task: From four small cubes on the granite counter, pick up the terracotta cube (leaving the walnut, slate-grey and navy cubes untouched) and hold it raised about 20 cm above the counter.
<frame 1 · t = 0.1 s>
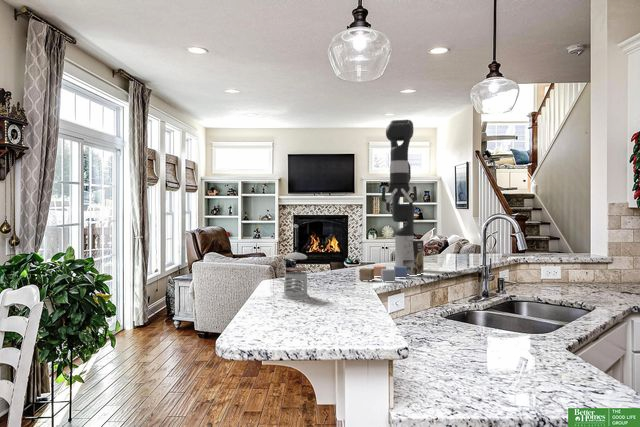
hand: (399, 212, 183), 29 cm above the worktop, tool pointing down, fingers open, 8 cm apart
walnut block: (366, 280, 191), on the worktop
navy block: (400, 278, 199), on the worktop
slate block: (388, 281, 189), on the worktop
terracotta block: (379, 277, 201), on the worktop
coffee box: (413, 275, 206), on the worktop
french press: (293, 297, 155), on the worktop
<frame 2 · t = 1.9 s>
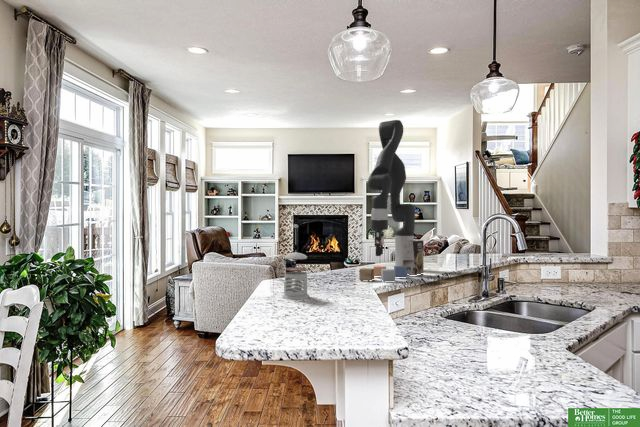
hand: (379, 255, 201), 10 cm above the worktop, tool pointing down, fingers open, 8 cm apart
nothing on the worktop moved.
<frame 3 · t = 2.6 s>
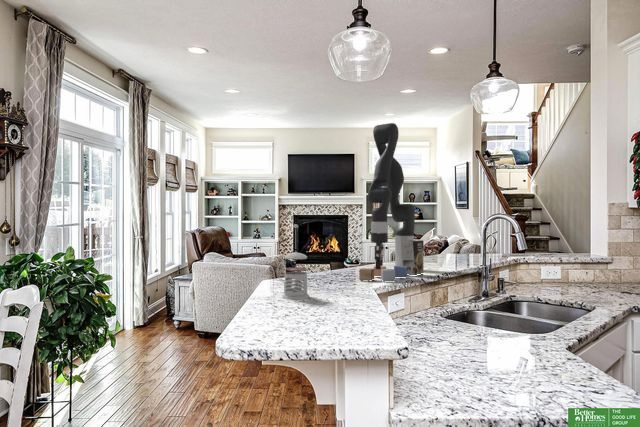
hand: (379, 268, 201), 4 cm above the worktop, tool pointing down, fingers open, 8 cm apart
nothing on the worktop moved.
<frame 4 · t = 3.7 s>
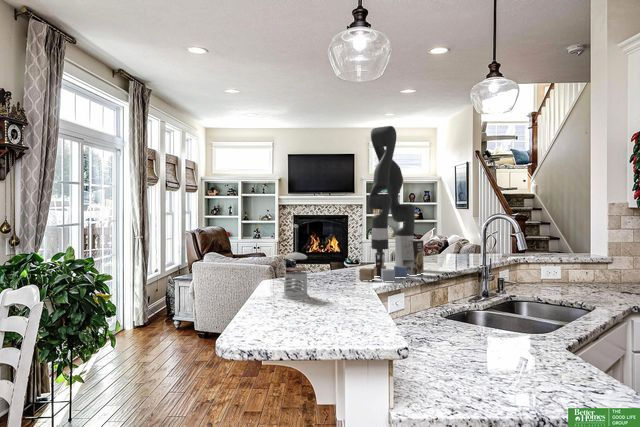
hand: (379, 276, 201), 0 cm above the worktop, tool pointing down, fingers closed on terracotta block, 5 cm apart
terracotta block: (379, 277, 201), on the worktop, touching gripper
everything else where it was.
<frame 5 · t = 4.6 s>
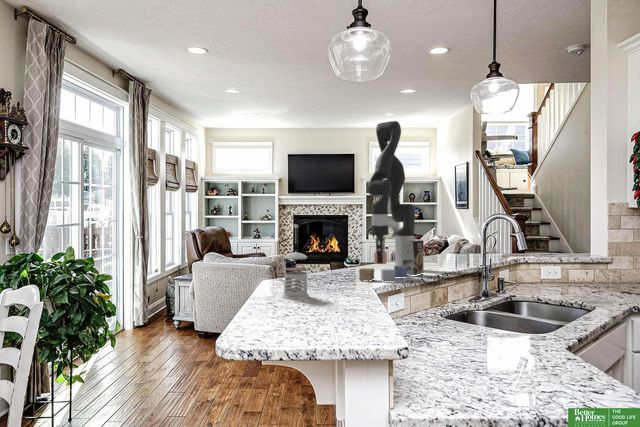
hand: (380, 262, 201), 7 cm above the worktop, tool pointing down, fingers closed on terracotta block, 5 cm apart
terracotta block: (380, 263, 201), point 6 cm above the worktop, touching gripper
everything else where it was.
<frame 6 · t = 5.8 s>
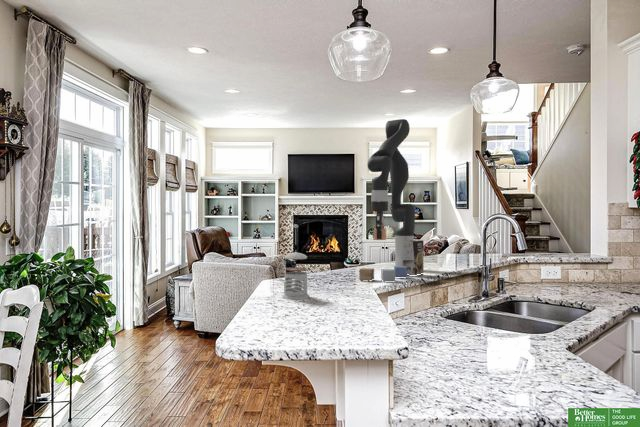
hand: (379, 238, 201), 17 cm above the worktop, tool pointing down, fingers closed on terracotta block, 5 cm apart
terracotta block: (379, 239, 201), point 17 cm above the worktop, touching gripper
everything else where it was.
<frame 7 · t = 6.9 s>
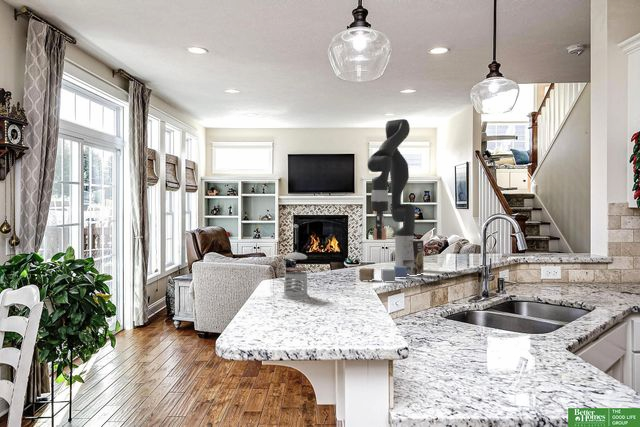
hand: (379, 238, 201), 17 cm above the worktop, tool pointing down, fingers closed on terracotta block, 5 cm apart
terracotta block: (379, 239, 201), point 17 cm above the worktop, touching gripper
everything else where it was.
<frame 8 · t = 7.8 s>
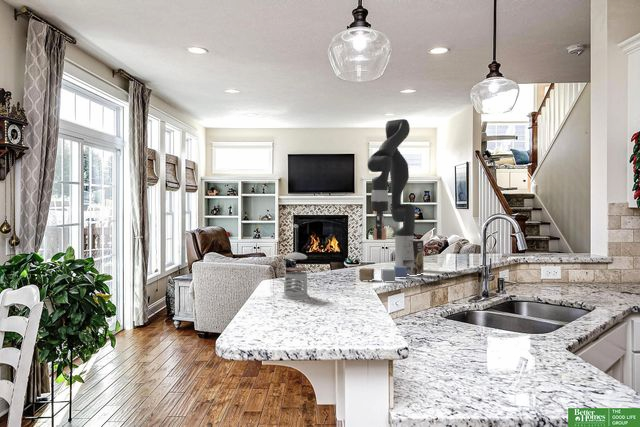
hand: (379, 238, 201), 17 cm above the worktop, tool pointing down, fingers closed on terracotta block, 5 cm apart
terracotta block: (379, 239, 201), point 17 cm above the worktop, touching gripper
everything else where it was.
at the end: the gripper is holding terracotta block; terracotta block point 16.8 cm above the worktop; slate block moved 0.1 cm from its start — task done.
